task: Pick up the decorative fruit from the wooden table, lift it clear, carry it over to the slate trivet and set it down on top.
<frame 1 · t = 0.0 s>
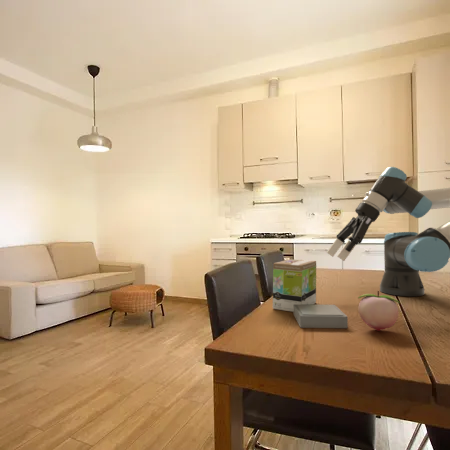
hand: (334, 256, 112), 15 cm above the table, tool tilted 35°, fingers open, 13 cm apart
decorative fruit: (378, 332, 79), on the table
slate trivet: (318, 320, 88), on the table
tea box: (295, 306, 104), on the table
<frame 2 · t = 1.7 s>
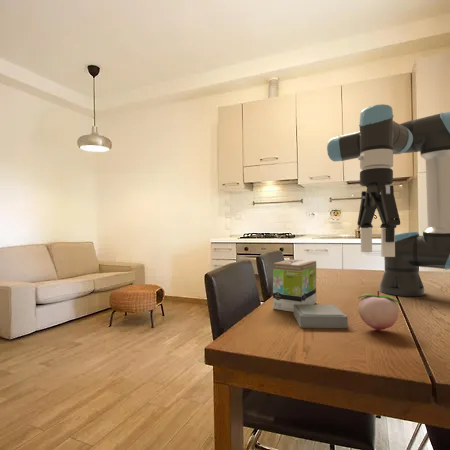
hand: (376, 254, 79), 19 cm above the table, tool pointing down, fingers open, 13 cm apart
nothing on the table moved.
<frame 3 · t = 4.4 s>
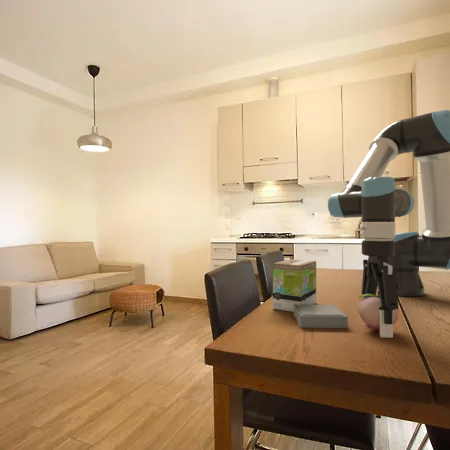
hand: (378, 330, 79), 0 cm above the table, tool pointing down, fingers open, 9 cm apart
decorative fruit: (379, 332, 79), on the table, touching gripper
everything else where it was.
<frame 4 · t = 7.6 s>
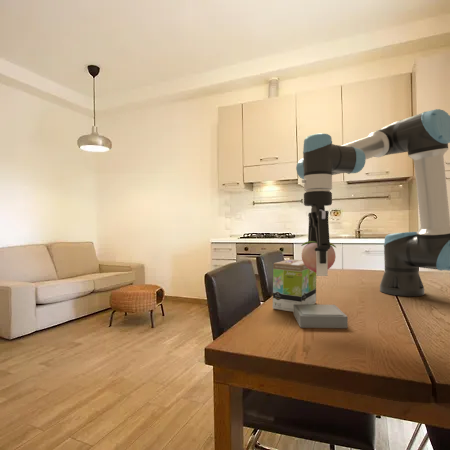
hand: (318, 273, 88), 13 cm above the table, tool pointing down, fingers closed on decorative fruit, 8 cm apart
decorative fruit: (318, 274, 88), point 13 cm above the table, touching gripper
everything else where it was.
when the fingers open (4 cm above the table, at t = 9.9 s): decorative fruit stays where it is, resting on slate trivet.
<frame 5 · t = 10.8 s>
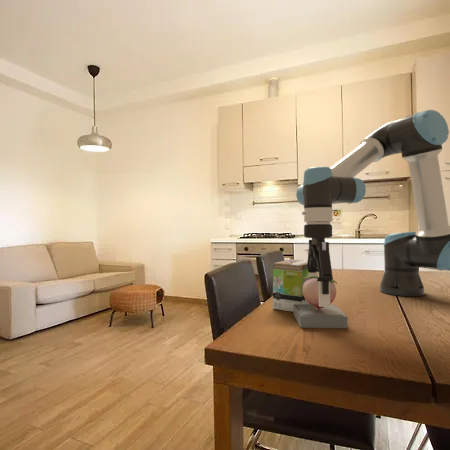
hand: (318, 300, 88), 6 cm above the table, tool pointing down, fingers open, 13 cm apart
decorative fruit: (319, 310, 88), point 3 cm above the table, touching slate trivet
everything else where it was.
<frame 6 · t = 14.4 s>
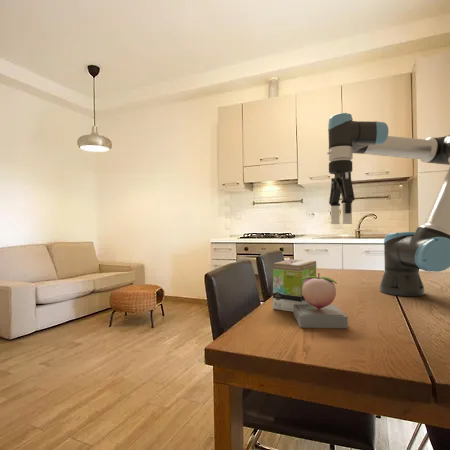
hand: (340, 224, 107), 27 cm above the table, tool pointing down, fingers open, 13 cm apart
nothing on the table moved.
at the end: decorative fruit inside the target area on the slate trivet (0.2 cm from its centre), point 3.0 cm above the slate trivet's base; the gripper is holding nothing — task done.
